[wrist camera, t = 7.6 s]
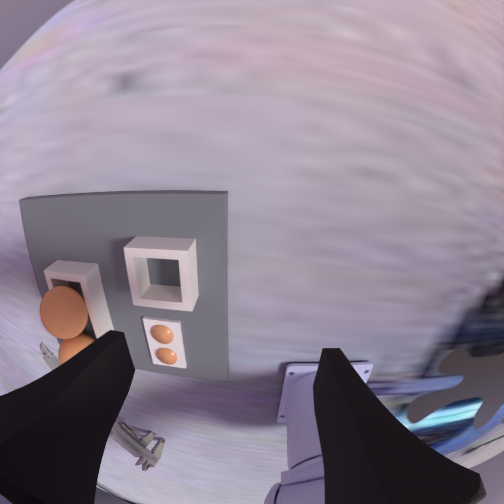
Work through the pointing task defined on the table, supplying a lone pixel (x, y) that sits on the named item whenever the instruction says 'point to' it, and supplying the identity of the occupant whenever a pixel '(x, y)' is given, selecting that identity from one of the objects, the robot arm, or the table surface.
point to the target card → (165, 341)
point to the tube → (162, 294)
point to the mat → (160, 270)
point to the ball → (63, 312)
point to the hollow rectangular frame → (83, 289)
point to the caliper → (123, 430)
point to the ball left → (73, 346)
